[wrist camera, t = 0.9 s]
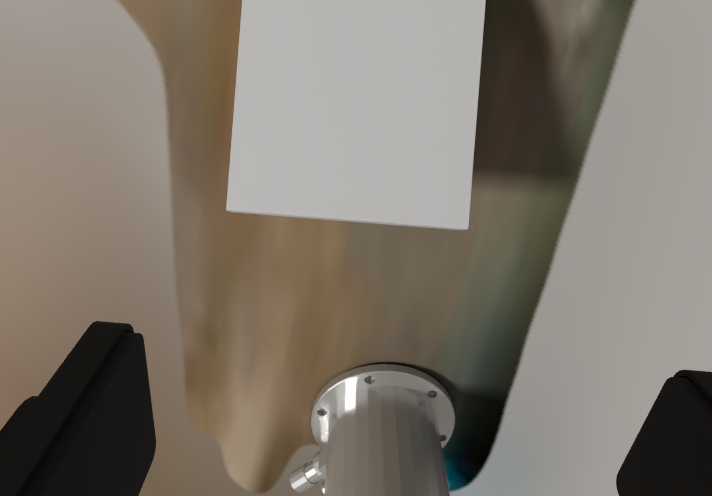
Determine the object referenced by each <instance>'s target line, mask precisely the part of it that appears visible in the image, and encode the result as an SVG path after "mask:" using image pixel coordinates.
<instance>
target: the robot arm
mask: <svg viewBox="0 0 712 496" xmlns="http://www.w3.org/2000/svg"><path fill="white" fill-rule="evenodd" d="M311 427H312V431H313V435H314V437H315V439H316V441H317V443H318V444H319V445H320V451H319V452H317V453H316V454H314V457H313V461H311V462H310V463H306V464H304V465H303V466H301V467H300V468H298V469H296V470H295V471H293V472H292V473H291V475H290V483H291V485H292V487H293V488H294V490H295V491H297V492H300V493H302V492H303V491H305V490H306V489H308V488H310V487H311V486H313V485H315V484H316V483H318V481H319V480H321V479H324V480H325V481H324V482H323V483H322V485H321V487H322V491H323V493H324V496H450V494H449V488H448V482H447V476H446V470H445V464H444V458H443V452H442V448H443V447H444V446H445V445H446V444H447V442H448V441H449V439H450V438H451V436H452V433H453V430H454V428H455V413H454V408H453V404H452V401H451V398H450V396H449V394H448V393H447V391H446V390H445V388H444V387H443V386H442V385H441V384H440V383H439V382H438V381H437V380H435V379H434V378H432V377H431V376H429V375H427V374H426V373H423V372H421V371H419V370H416V369H414V368H410V367H406V366H401V365H392V364H376V365H368V366H363V367H358V368H355V369H352V370H350V371H347V372H344V373H343V374H341V375H339V376H337V377H336V378H334V379H332V380H331V381H330V382H329V383H328V384H327V385H325V386H324V387H323V389H322V390H321V391H320V393H319V394H318V395H317V397H316V400H315V402H314V404H313V409H312V416H311ZM155 448H156V437H155V428H154V420H153V412H152V404H151V395H150V387H149V379H148V371H147V363H146V355H145V346H144V339H143V336H142V335H141V334H140V333H134V331H133V327H132V326H131V325H130V324H124V323H113V322H100V321H96V322H93V323H92V324H91V325H90V326H89V328H88V329H87V330H86V332H85V333H84V334H83V336H82V337H81V338H80V340H79V341H78V343H77V344H76V345H75V347H74V348H73V349H72V351H71V352H70V353H69V355H68V356H67V358H66V359H65V360H64V362H63V363H62V364H61V366H60V367H59V368H58V370H57V371H56V373H55V374H54V375H53V377H52V378H51V379H50V381H49V382H48V383H47V385H46V386H45V387H44V389H43V390H42V392H41V393H40V395H39V396H32V397H30V398H28V399H27V400H25V401H24V402H23V403H22V404H21V405H20V406H19V407H18V409H17V410H16V411H15V412H14V414H13V415H12V417H11V418H10V419H9V420H8V422H7V423H6V424H5V426H4V427H3V428H2V429H1V431H0V496H138V495H139V493H140V490H141V488H142V485H143V483H144V480H145V478H146V476H147V473H148V471H149V468H150V466H151V463H152V461H153V457H154V454H155ZM616 485H617V490H618V494H619V496H712V372H705V371H692V370H681V371H679V372H677V373H676V374H675V375H674V377H670V378H669V379H667V380H666V382H665V383H664V385H663V387H662V389H661V391H660V393H659V395H658V397H657V399H656V401H655V403H654V405H653V406H652V409H651V410H650V412H649V414H648V416H647V418H646V420H645V422H644V424H643V426H642V428H641V430H640V432H639V433H638V435H637V437H636V439H635V441H634V443H633V445H632V447H631V449H630V451H629V453H628V455H627V456H626V458H625V460H624V462H623V464H622V466H621V468H620V470H619V472H618V475H617V479H616Z"/></svg>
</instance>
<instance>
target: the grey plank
mask: <svg viewBox="0 0 712 496" xmlns="http://www.w3.org/2000/svg"><path fill="white" fill-rule="evenodd" d="M485 3H486V0H242V12H241V25H240V38H239V51H238V64H237V77H236V90H235V103H234V116H233V129H232V142H231V155H230V168H229V181H228V194H227V207H226V210H227V211H230V212H236V213H249V214H262V215H274V216H287V217H300V218H312V219H325V220H338V221H350V222H363V223H376V224H388V225H401V226H414V227H426V228H439V229H452V230H467V229H468V223H469V210H470V197H471V184H472V171H473V158H474V145H475V133H476V120H477V107H478V94H479V81H480V68H481V55H482V42H483V29H484V16H485Z"/></svg>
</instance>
